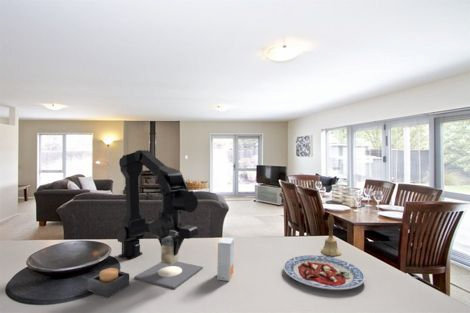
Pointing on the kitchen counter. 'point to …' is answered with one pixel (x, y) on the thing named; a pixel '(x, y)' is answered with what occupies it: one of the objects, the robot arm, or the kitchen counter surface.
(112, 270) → the button
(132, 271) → the kitchen counter surface
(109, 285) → the button box
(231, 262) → the skincare box
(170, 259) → the spice jar
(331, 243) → the hand bell
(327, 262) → the ceramic plate
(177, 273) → the mat
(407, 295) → the kitchen counter surface
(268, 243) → the kitchen counter surface
